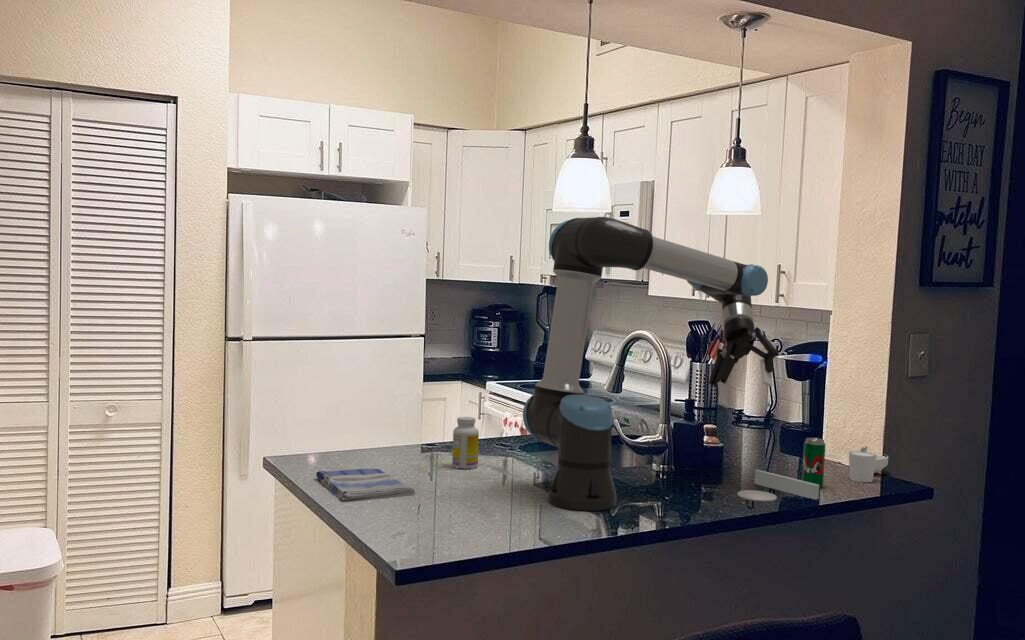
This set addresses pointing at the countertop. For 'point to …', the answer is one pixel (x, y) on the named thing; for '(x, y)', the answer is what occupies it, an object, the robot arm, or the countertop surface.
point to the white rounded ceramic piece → (880, 460)
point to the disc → (757, 495)
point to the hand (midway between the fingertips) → (745, 395)
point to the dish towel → (363, 484)
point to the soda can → (814, 461)
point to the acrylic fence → (787, 484)
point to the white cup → (861, 466)
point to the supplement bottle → (465, 443)
